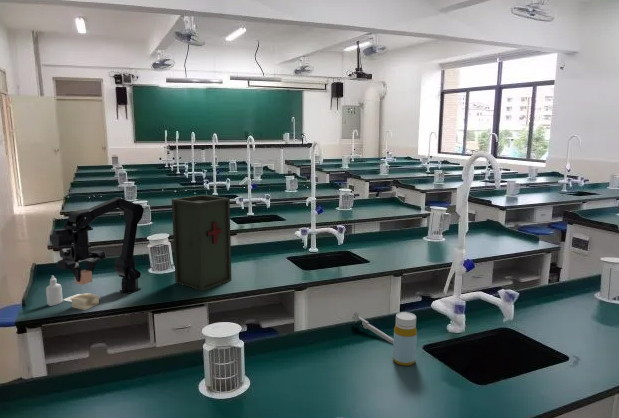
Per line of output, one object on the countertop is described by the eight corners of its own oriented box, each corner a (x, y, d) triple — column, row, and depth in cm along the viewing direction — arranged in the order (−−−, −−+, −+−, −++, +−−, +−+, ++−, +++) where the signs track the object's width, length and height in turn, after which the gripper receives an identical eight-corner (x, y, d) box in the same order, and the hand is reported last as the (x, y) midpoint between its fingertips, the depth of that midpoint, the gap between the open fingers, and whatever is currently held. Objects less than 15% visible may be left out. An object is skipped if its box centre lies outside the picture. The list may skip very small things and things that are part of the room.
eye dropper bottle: (47, 303, 190) (44, 275, 188) (62, 300, 192) (60, 273, 190) (47, 306, 186) (44, 278, 184) (63, 304, 189) (60, 276, 187)
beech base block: (87, 301, 192) (86, 292, 191) (99, 304, 189) (98, 295, 189) (72, 307, 186) (71, 298, 185) (84, 310, 183) (83, 301, 182)
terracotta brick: (92, 281, 187) (91, 270, 186) (82, 284, 183) (82, 274, 182) (84, 280, 189) (83, 269, 188) (75, 283, 185) (74, 272, 184)
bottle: (401, 368, 139) (403, 322, 137) (388, 358, 146) (390, 313, 143) (419, 363, 142) (422, 318, 140) (406, 354, 148) (408, 310, 146)
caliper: (351, 327, 169) (351, 311, 168) (353, 326, 170) (353, 310, 169) (396, 346, 154) (397, 328, 153) (398, 345, 155) (399, 327, 154)
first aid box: (205, 273, 230) (202, 194, 224) (231, 280, 220) (229, 198, 213) (175, 283, 216) (171, 199, 209) (202, 291, 205) (199, 203, 198)
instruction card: (78, 294, 200) (78, 293, 200) (88, 296, 198) (88, 295, 198) (62, 300, 193) (62, 299, 193) (72, 302, 191) (72, 301, 191)
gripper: (86, 235, 195) (89, 271, 197) (45, 245, 178) (49, 283, 181) (105, 238, 190) (107, 274, 193) (65, 248, 174) (68, 288, 176)
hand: (83, 279), depth 186 cm, fingers closed on terracotta brick, 4 cm apart
